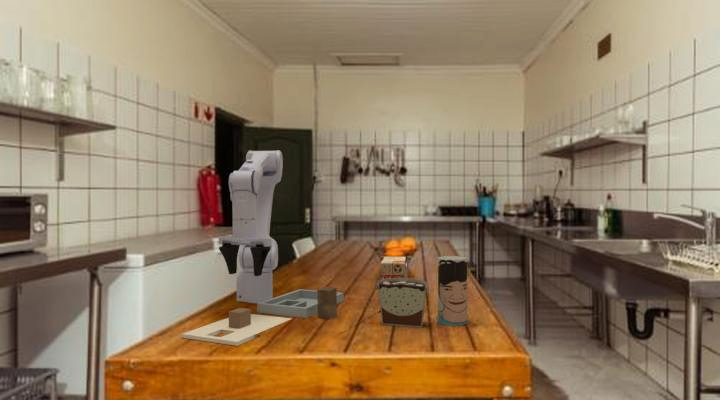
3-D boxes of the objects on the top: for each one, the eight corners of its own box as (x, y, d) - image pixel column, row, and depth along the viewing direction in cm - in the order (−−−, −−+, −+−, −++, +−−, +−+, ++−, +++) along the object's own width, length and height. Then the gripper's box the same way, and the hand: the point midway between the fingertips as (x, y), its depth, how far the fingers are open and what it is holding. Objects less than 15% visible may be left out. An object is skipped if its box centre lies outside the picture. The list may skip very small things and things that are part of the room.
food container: (433, 321, 123) (433, 279, 123) (428, 328, 117) (428, 283, 117) (383, 317, 127) (383, 276, 127) (376, 323, 121) (375, 280, 121)
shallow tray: (257, 315, 130) (257, 303, 130) (299, 299, 148) (299, 289, 148) (306, 321, 124) (305, 308, 124) (343, 303, 142) (343, 292, 142)
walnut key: (317, 321, 124) (317, 289, 124) (325, 317, 128) (325, 286, 128) (328, 322, 123) (328, 290, 123) (336, 318, 127) (336, 287, 126)
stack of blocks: (386, 292, 158) (386, 252, 157) (407, 293, 157) (407, 252, 157) (380, 309, 136) (380, 262, 136) (404, 309, 136) (404, 262, 135)
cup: (436, 324, 120) (435, 259, 120) (440, 317, 127) (440, 255, 126) (465, 326, 118) (465, 260, 118) (468, 319, 125) (468, 256, 124)
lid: (181, 337, 111) (181, 317, 111) (242, 316, 130) (241, 298, 130) (237, 345, 105) (237, 324, 105) (292, 321, 124) (292, 303, 124)
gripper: (210, 219, 128) (210, 275, 128) (259, 220, 122) (259, 279, 122) (228, 218, 134) (229, 271, 135) (276, 219, 128) (276, 274, 129)
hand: (245, 274), depth 129 cm, fingers open, 7 cm apart
